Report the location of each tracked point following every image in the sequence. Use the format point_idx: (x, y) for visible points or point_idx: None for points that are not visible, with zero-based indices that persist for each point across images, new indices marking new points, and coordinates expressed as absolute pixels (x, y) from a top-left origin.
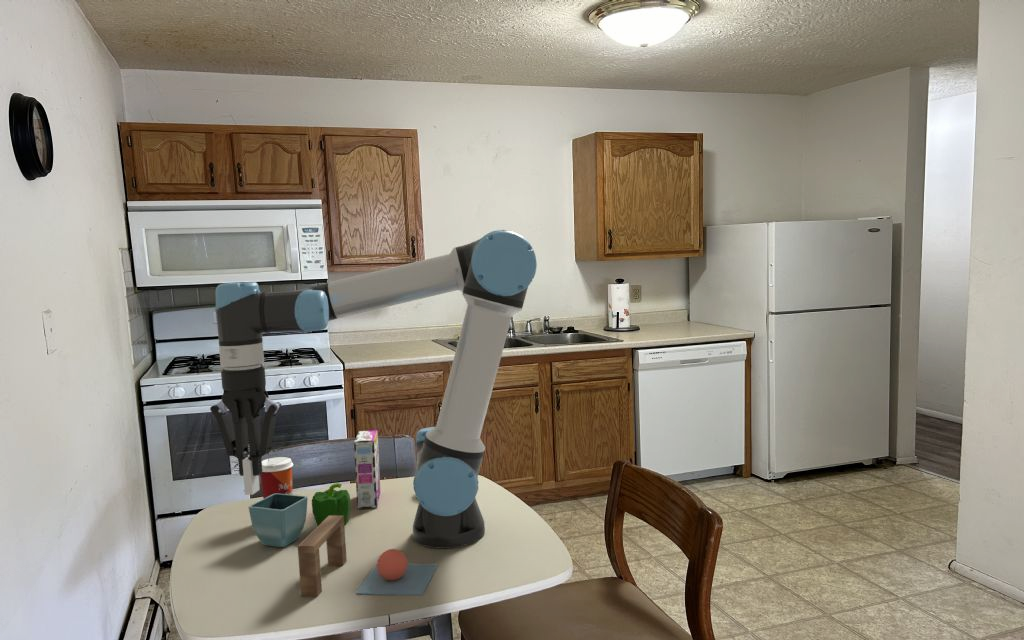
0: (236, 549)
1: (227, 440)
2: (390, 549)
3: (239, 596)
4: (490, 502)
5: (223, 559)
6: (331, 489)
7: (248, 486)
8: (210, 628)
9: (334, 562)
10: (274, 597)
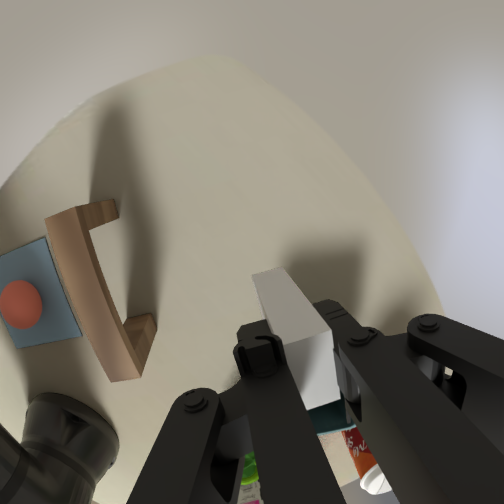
0: (359, 312)
1: (495, 361)
2: (12, 317)
3: (221, 162)
4: (105, 496)
5: (356, 274)
6: (256, 471)
7: (271, 280)
8: (189, 66)
9: (138, 317)
10: (156, 180)
